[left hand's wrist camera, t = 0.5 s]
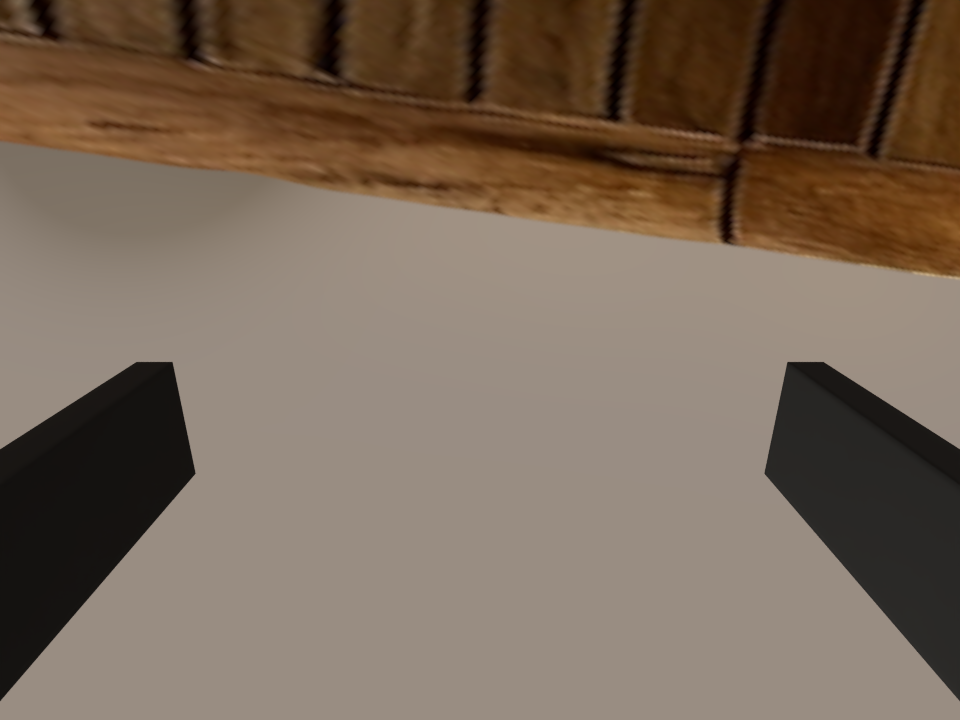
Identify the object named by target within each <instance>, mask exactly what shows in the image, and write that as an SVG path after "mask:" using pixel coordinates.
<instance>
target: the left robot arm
mask: <svg viewBox="0 0 960 720" xmlns="http://www.w3.org/2000/svg"><path fill="white" fill-rule="evenodd" d="M194 475H195V469H194V464H193V459H192V454H191V449H190V445H189V440H188V435H187V430H186V425H185V421H184V416H183V411H182V406H181V401H180V396H179V391H178V387H177V382H176V377H175V372H174V367H173V363H172V362H136V363H134V364H133V365H131V366H130V367H128V368H127V369H125V370H124V371H122V372H120V373H119V374H117V375H116V376H114V377H113V378H111V379H109V380H108V381H106V382H105V383H103V384H102V385H100V386H98V387H97V388H95V389H94V390H92V391H91V392H89V393H88V394H86V395H84V396H83V397H81V398H80V399H78V400H77V401H75V402H74V403H72V404H70V405H69V406H67V407H66V408H64V409H63V410H61V411H59V412H58V413H56V414H55V415H53V416H52V417H50V418H48V419H47V420H45V421H44V422H42V423H41V424H39V425H38V426H36V427H34V428H33V429H31V430H30V431H28V432H27V433H25V434H24V435H22V436H20V437H19V438H17V439H16V440H14V441H12V442H11V443H9V444H8V445H6V446H5V447H3V448H2V449H0V701H1V699H2V698H3V697H4V696H5V695H6V694H7V692H8V691H9V690H10V689H11V688H12V687H13V685H14V684H15V683H16V682H17V681H18V680H19V679H20V677H21V676H22V675H23V674H24V673H25V672H26V670H27V669H28V668H29V667H30V666H31V665H32V663H33V662H34V661H35V660H36V659H37V658H38V656H39V655H40V654H41V653H42V652H43V651H44V649H45V648H46V647H47V646H48V645H49V644H50V642H51V641H52V640H53V639H54V638H55V637H56V635H57V634H58V633H59V632H60V631H61V630H62V628H63V627H64V626H65V625H66V624H67V623H68V621H69V620H70V619H71V618H72V617H73V616H74V614H75V613H76V612H77V611H78V610H79V609H80V607H81V606H82V605H83V604H84V603H85V602H86V601H87V599H88V598H89V597H90V596H91V595H92V594H93V592H94V591H95V590H96V589H97V588H98V587H99V585H100V584H101V583H102V582H103V581H104V580H105V578H106V577H107V576H108V575H109V574H110V573H111V571H112V570H113V569H114V568H115V567H116V566H117V564H118V563H119V562H120V561H121V560H122V559H123V557H124V556H125V555H126V554H127V553H128V552H129V550H130V549H131V548H132V547H133V546H134V545H135V543H136V542H137V541H138V540H139V539H140V538H141V536H142V535H143V534H144V533H145V532H146V531H147V529H148V528H149V527H150V526H151V525H152V524H153V522H154V521H155V520H156V519H157V518H158V517H159V515H160V514H161V513H162V512H163V511H164V510H165V509H166V507H167V506H168V505H169V504H170V503H171V502H172V500H173V499H174V498H175V497H176V496H177V495H178V493H179V492H180V491H181V490H182V489H183V488H184V486H185V485H186V484H187V483H188V482H189V481H190V479H191V478H192V477H193V476H194ZM765 475H766V476H767V477H768V478H769V479H770V481H771V482H772V483H773V484H774V485H775V486H776V488H777V489H778V490H779V491H780V492H781V493H782V495H783V496H784V497H785V498H786V499H787V500H788V502H789V503H790V504H791V505H792V506H793V507H794V509H795V510H796V511H797V512H798V513H799V514H800V516H801V517H802V518H803V519H804V520H805V521H806V523H807V524H808V525H809V526H810V527H811V528H812V529H813V531H814V532H815V533H816V534H817V535H818V536H819V538H820V539H821V540H822V541H823V542H824V543H825V545H826V546H827V547H828V548H829V549H830V550H831V552H832V553H833V554H834V555H835V556H836V557H837V559H838V560H839V561H840V562H841V563H842V564H843V566H844V567H845V568H846V569H847V570H848V571H849V573H850V574H851V575H852V576H853V577H854V578H855V580H856V581H857V582H858V583H859V584H860V585H861V586H862V588H863V589H864V590H865V591H866V592H867V594H868V595H869V596H870V597H871V598H872V599H873V601H874V602H875V603H876V604H877V605H878V606H879V608H880V609H881V610H882V611H883V612H884V613H885V614H886V616H887V617H888V618H889V619H890V620H891V621H892V623H893V624H894V625H895V626H896V627H897V628H898V630H899V631H900V632H901V633H902V634H903V635H904V637H905V638H906V639H907V640H908V641H909V642H910V644H911V645H912V646H913V647H914V648H915V649H916V651H917V652H918V653H919V654H920V655H921V656H922V658H923V659H924V660H925V661H926V662H927V663H928V665H929V666H930V667H931V668H932V669H933V670H934V672H935V673H936V674H937V675H938V676H939V677H940V679H941V680H942V681H943V682H944V683H945V684H946V686H947V687H948V688H949V689H950V690H951V691H952V693H953V694H954V695H955V696H956V697H957V698H958V699H959V701H960V449H958V448H957V447H955V446H954V445H952V444H951V443H949V442H947V441H946V440H944V439H943V438H941V437H940V436H938V435H937V434H935V433H933V432H932V431H930V430H929V429H927V428H926V427H924V426H922V425H921V424H919V423H918V422H916V421H915V420H913V419H912V418H910V417H908V416H907V415H905V414H904V413H902V412H901V411H899V410H897V409H896V408H894V407H893V406H891V405H890V404H888V403H887V402H885V401H883V400H882V399H880V398H879V397H877V396H876V395H874V394H872V393H871V392H869V391H868V390H866V389H865V388H863V387H861V386H860V385H858V384H857V383H855V382H854V381H852V380H851V379H849V378H847V377H846V376H844V375H843V374H841V373H840V372H838V371H836V370H835V369H833V368H832V367H830V366H829V365H827V364H826V363H824V362H788V363H787V367H786V372H785V377H784V382H783V387H782V391H781V396H780V401H779V406H778V411H777V416H776V420H775V425H774V430H773V435H772V440H771V445H770V449H769V454H768V459H767V464H766V469H765Z"/></svg>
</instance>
